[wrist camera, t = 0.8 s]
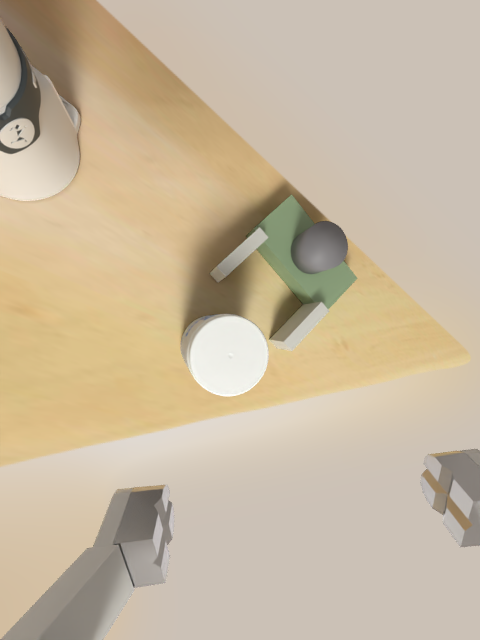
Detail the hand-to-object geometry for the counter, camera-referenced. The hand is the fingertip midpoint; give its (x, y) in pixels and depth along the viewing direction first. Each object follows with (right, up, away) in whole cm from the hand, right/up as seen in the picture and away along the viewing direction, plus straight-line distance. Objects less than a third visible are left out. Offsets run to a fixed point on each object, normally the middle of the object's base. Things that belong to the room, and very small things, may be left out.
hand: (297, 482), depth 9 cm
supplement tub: (-7, +1, +37) cm, 38 cm away
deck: (+5, +13, +41) cm, 43 cm away
